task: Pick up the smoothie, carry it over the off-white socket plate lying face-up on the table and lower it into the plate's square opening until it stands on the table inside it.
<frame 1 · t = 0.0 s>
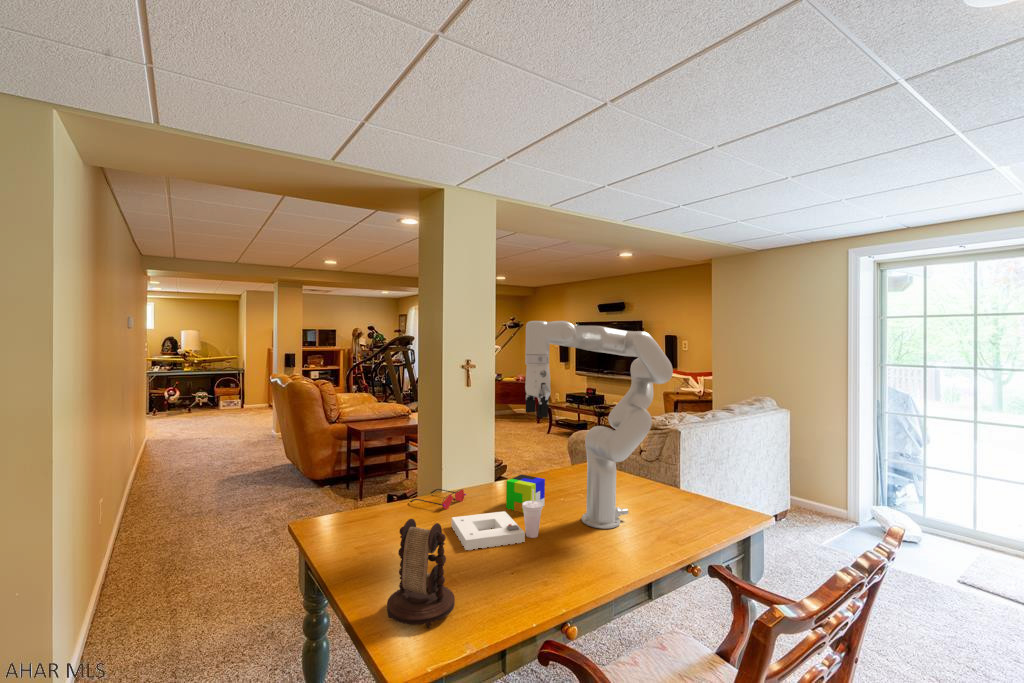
hand: (536, 414, 151), 37 cm above the table, tool pointing down, fingers open, 9 cm apart
glasses: (437, 503, 176), on the table
puzzle toy: (525, 508, 172), on the table
socket plate: (486, 534, 148), on the table
smoothie: (531, 536, 148), on the table
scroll: (421, 612, 106), on the table
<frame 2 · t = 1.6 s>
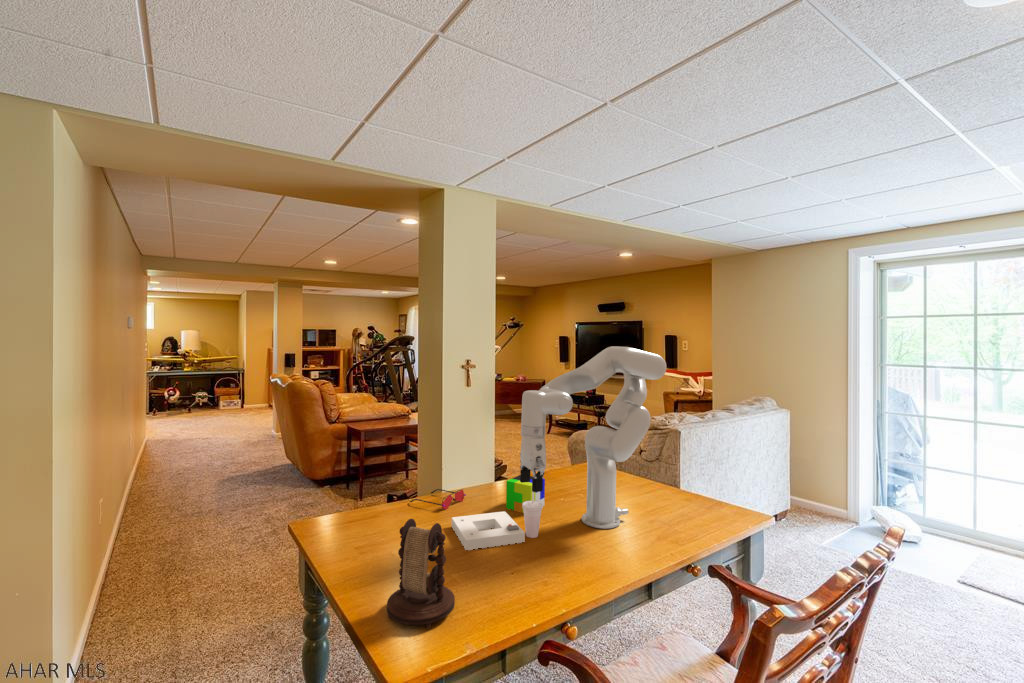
hand: (530, 486, 148), 15 cm above the table, tool pointing down, fingers open, 9 cm apart
nothing on the table moved.
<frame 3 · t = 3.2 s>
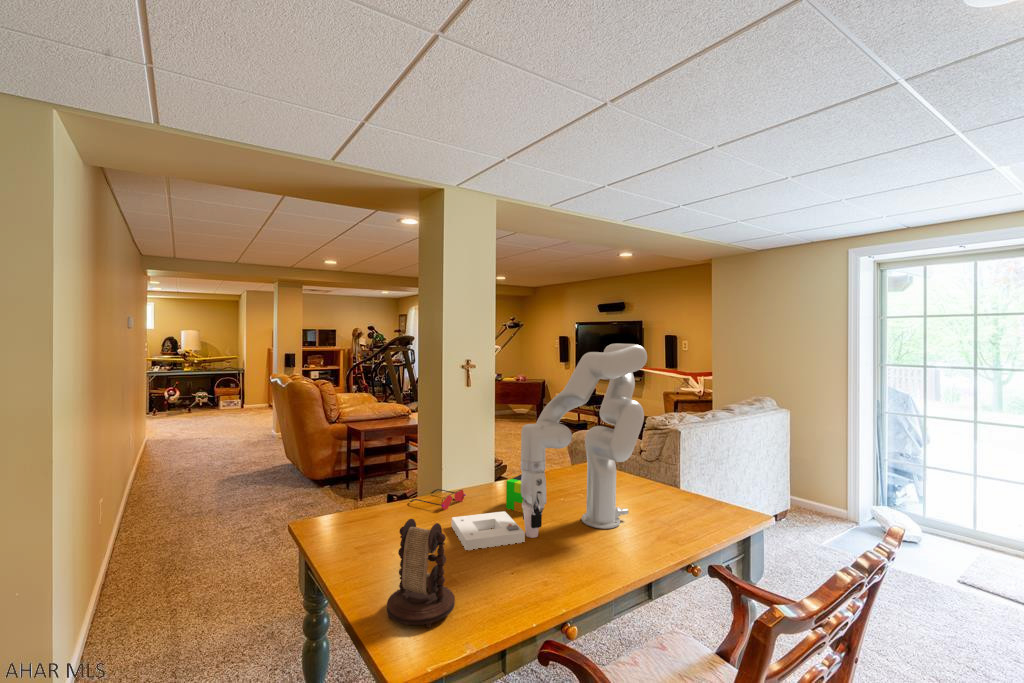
hand: (531, 522, 148), 4 cm above the table, tool pointing down, fingers closed on smoothie, 6 cm apart
smoothie: (531, 535, 148), on the table, touching gripper
everything else where it was.
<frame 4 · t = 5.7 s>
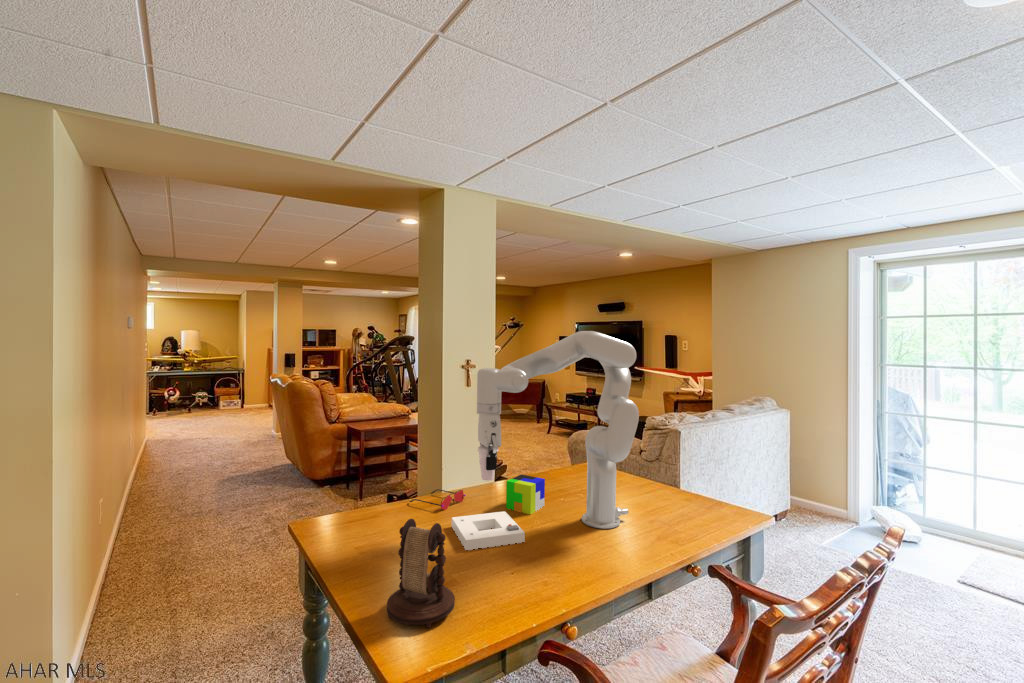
hand: (487, 466, 148), 21 cm above the table, tool pointing down, fingers closed on smoothie, 6 cm apart
smoothie: (487, 479, 148), point 17 cm above the table, touching gripper
everything else where it was.
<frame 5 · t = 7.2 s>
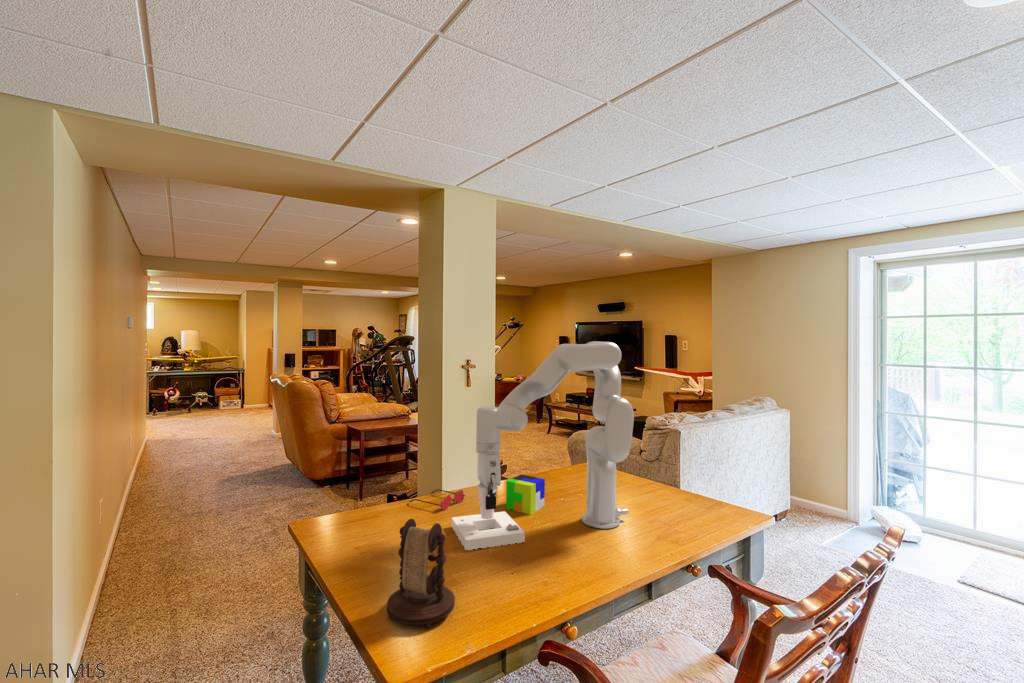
hand: (487, 504, 148), 9 cm above the table, tool pointing down, fingers closed on smoothie, 6 cm apart
smoothie: (487, 517, 148), point 5 cm above the table, touching gripper
everything else where it was.
when the fingers open (5 cm above the table, at t = 8.6 s): smoothie stays where it is, resting in socket plate.
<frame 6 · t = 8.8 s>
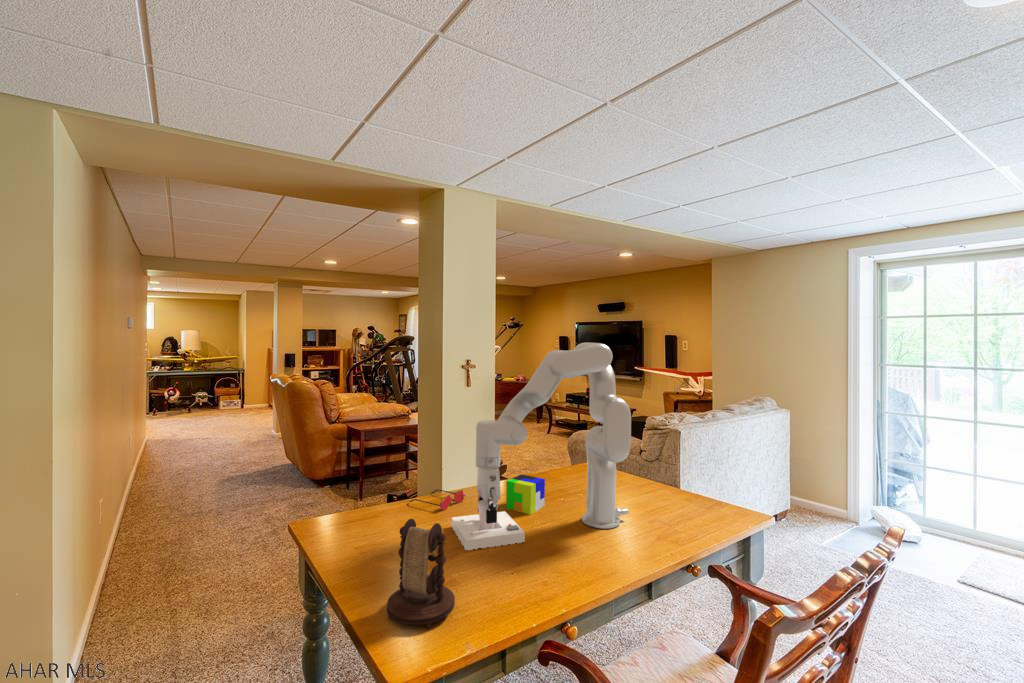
hand: (487, 517, 148), 5 cm above the table, tool pointing down, fingers open, 8 cm apart
smoothie: (487, 534, 148), resting in socket plate
everything else where it was.
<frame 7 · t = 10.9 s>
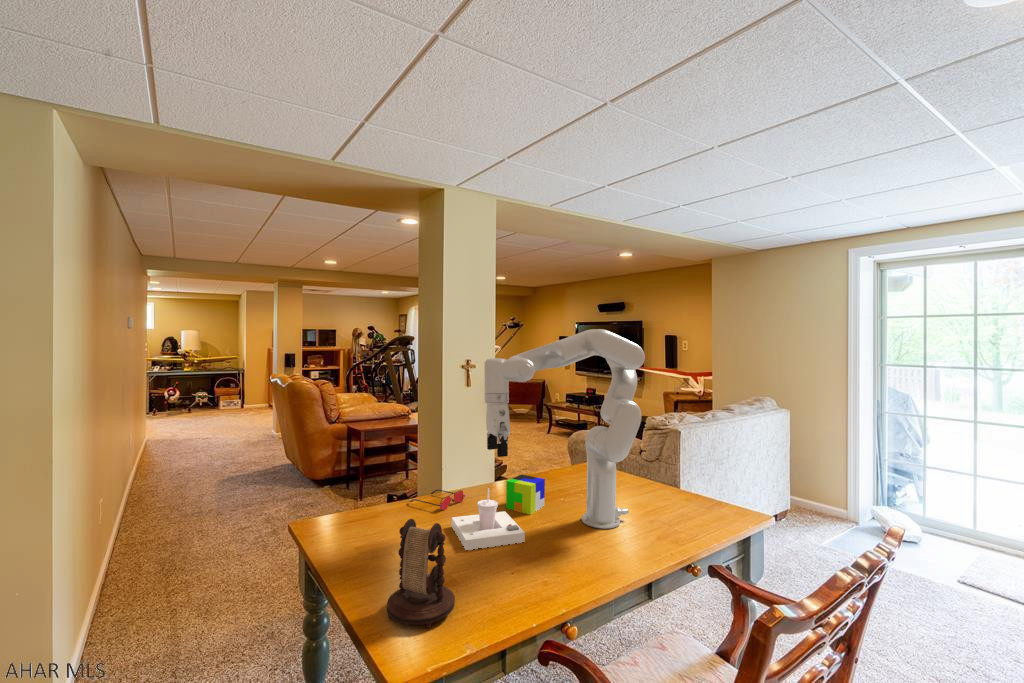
hand: (497, 452, 150), 25 cm above the table, tool pointing down, fingers open, 9 cm apart
nothing on the table moved.
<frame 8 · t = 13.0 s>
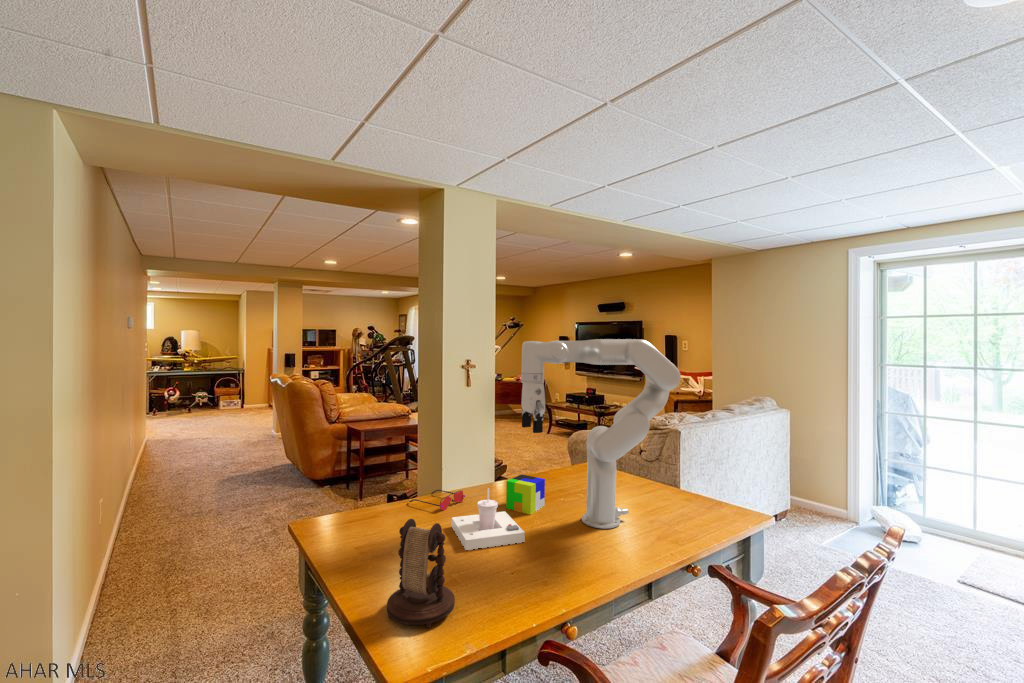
hand: (531, 429, 159), 30 cm above the table, tool pointing down, fingers open, 9 cm apart
nothing on the table moved.
at the end: smoothie 0.2 cm off-centre on the socket plate, point 0.0 cm above the socket plate's base; smoothie tilted 0°; the gripper is holding nothing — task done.
